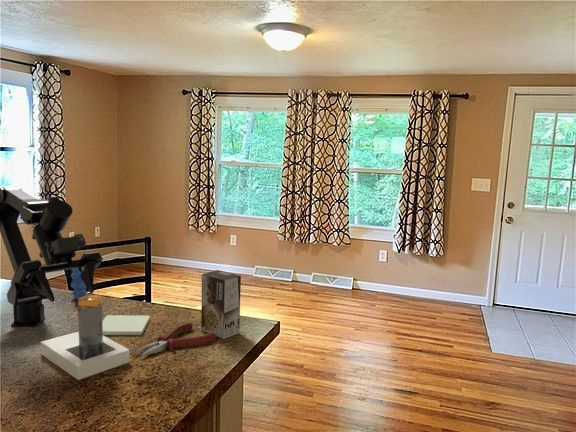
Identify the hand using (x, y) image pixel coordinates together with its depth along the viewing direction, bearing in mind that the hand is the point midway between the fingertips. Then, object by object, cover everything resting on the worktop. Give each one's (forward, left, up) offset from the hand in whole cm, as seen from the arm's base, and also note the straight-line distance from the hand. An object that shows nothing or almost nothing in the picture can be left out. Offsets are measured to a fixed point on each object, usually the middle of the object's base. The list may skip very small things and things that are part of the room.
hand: (73, 296), depth 111 cm
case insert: (+4, -4, -13) cm, 14 cm away
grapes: (-10, +39, -14) cm, 43 cm away
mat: (+8, +16, -13) cm, 22 cm away
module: (+6, -6, -13) cm, 16 cm away
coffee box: (+34, +13, -14) cm, 39 cm away
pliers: (+22, +6, -14) cm, 27 cm away
